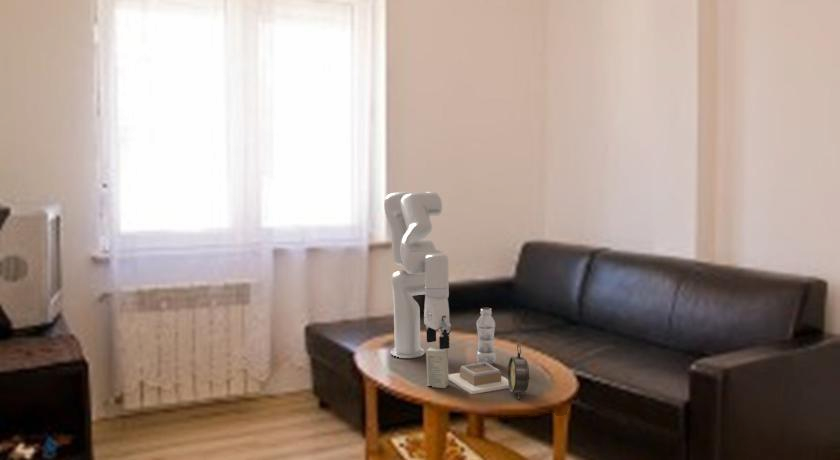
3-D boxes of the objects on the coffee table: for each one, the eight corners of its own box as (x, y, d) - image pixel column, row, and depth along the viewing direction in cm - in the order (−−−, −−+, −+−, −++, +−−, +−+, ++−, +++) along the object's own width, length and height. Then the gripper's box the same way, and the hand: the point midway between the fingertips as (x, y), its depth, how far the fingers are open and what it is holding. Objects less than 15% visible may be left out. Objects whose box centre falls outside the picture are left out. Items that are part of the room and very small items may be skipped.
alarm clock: (506, 389, 239) (507, 339, 237) (523, 388, 239) (523, 339, 237) (514, 401, 228) (514, 349, 226) (531, 400, 228) (531, 348, 226)
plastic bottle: (494, 367, 261) (494, 311, 259) (475, 366, 262) (475, 310, 260) (496, 362, 267) (496, 307, 265) (477, 361, 269) (477, 306, 266)
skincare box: (449, 384, 244) (448, 347, 243) (445, 388, 240) (444, 351, 239) (430, 382, 246) (429, 346, 245) (426, 386, 242) (425, 349, 241)
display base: (446, 377, 251) (446, 363, 250) (488, 371, 257) (488, 357, 257) (471, 394, 235) (471, 379, 234) (515, 386, 241) (515, 372, 240)
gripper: (415, 289, 246) (416, 340, 247) (437, 298, 230) (438, 352, 231) (436, 287, 249) (437, 338, 250) (459, 295, 233) (460, 349, 234)
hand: (437, 345), depth 241 cm, fingers open, 9 cm apart
